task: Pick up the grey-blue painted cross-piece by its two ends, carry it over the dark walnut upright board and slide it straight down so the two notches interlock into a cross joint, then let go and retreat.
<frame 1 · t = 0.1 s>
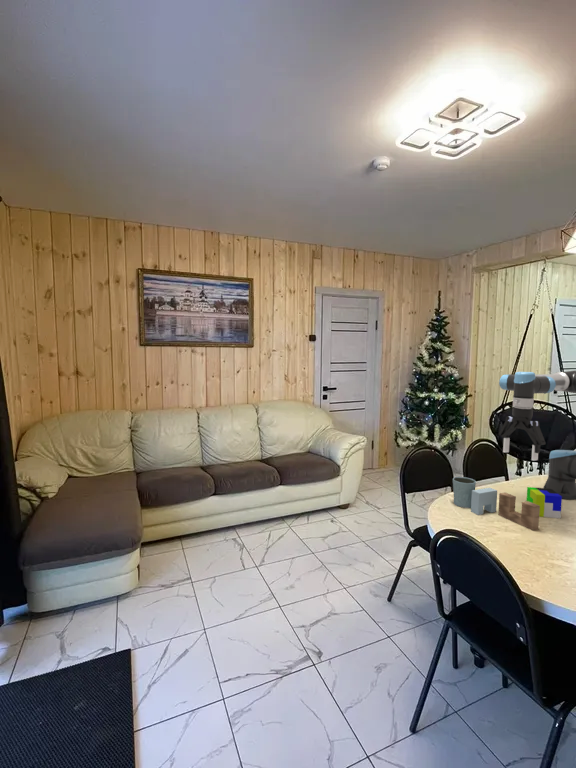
hand: (519, 456, 164), 28 cm above the table, fingers open, 13 cm apart
blue crosspiece: (483, 511, 173), on the table
puzzle toy: (542, 513, 173), on the table
walnut upright: (517, 521, 163), on the table
grey cup: (462, 504, 182), on the table
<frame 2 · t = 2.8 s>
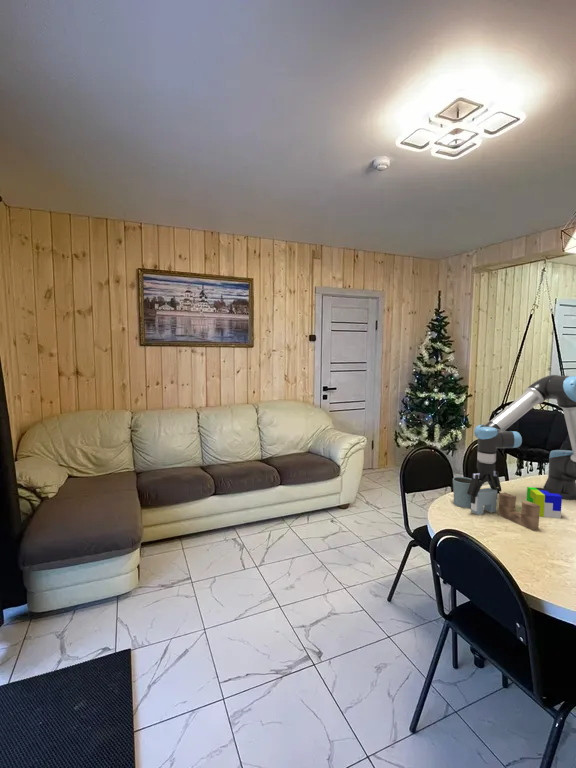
hand: (483, 508, 173), 2 cm above the table, fingers closed on blue crosspiece, 11 cm apart
blue crosspiece: (483, 511, 173), on the table, touching gripper
everything else where it was.
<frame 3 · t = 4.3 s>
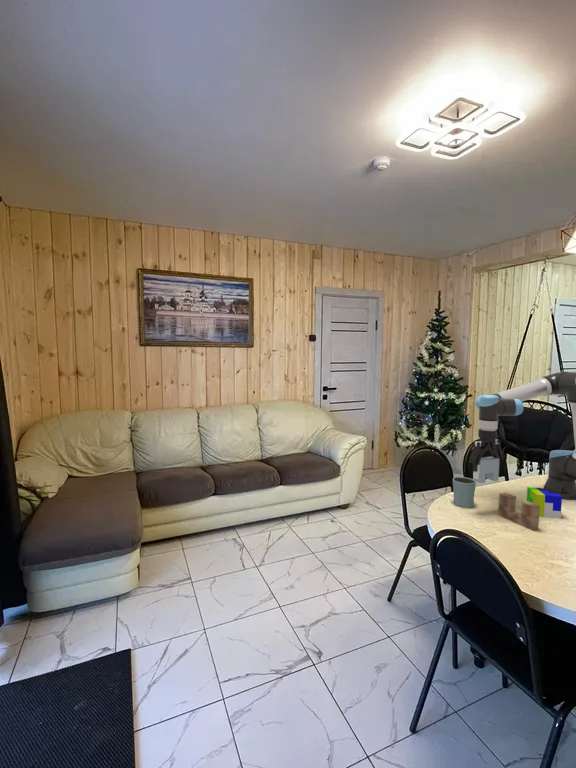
hand: (485, 476, 172), 16 cm above the table, fingers closed on blue crosspiece, 11 cm apart
blue crosspiece: (485, 480, 172), point 15 cm above the table, touching gripper
everything else where it was.
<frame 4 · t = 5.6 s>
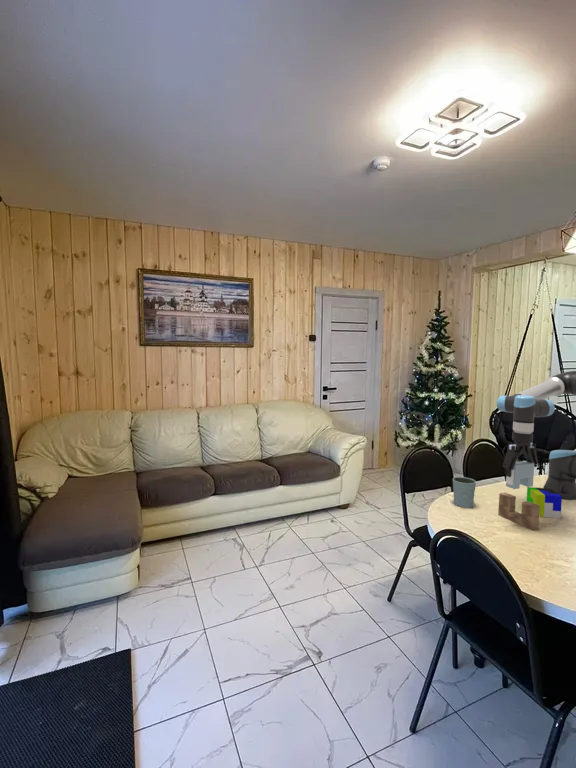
hand: (519, 482, 161), 17 cm above the table, fingers closed on blue crosspiece, 11 cm apart
blue crosspiece: (519, 486, 162), point 16 cm above the table, touching gripper
everything else where it was.
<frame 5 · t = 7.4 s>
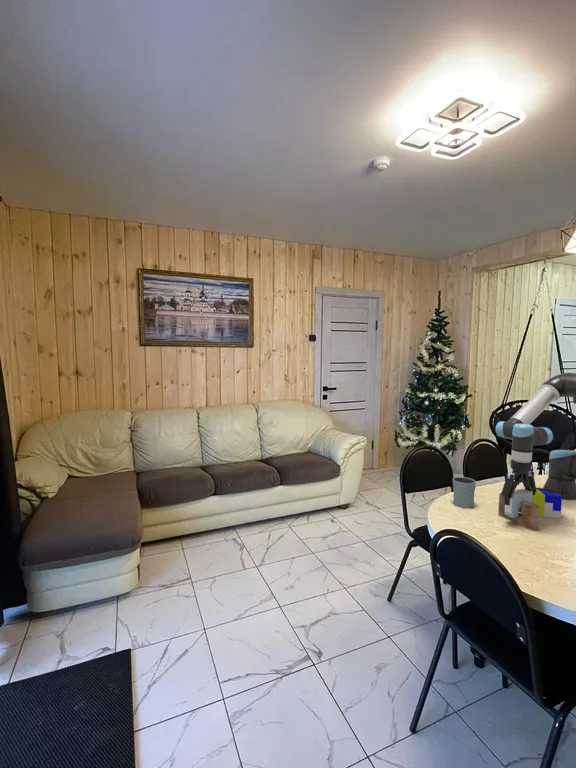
hand: (518, 510, 162), 5 cm above the table, fingers closed on blue crosspiece, 11 cm apart
blue crosspiece: (517, 514, 162), point 3 cm above the table, touching gripper
everything else where it was.
when the fingers open (2 cm above the table, at t = 8.5 s): blue crosspiece stays where it is, on the table.
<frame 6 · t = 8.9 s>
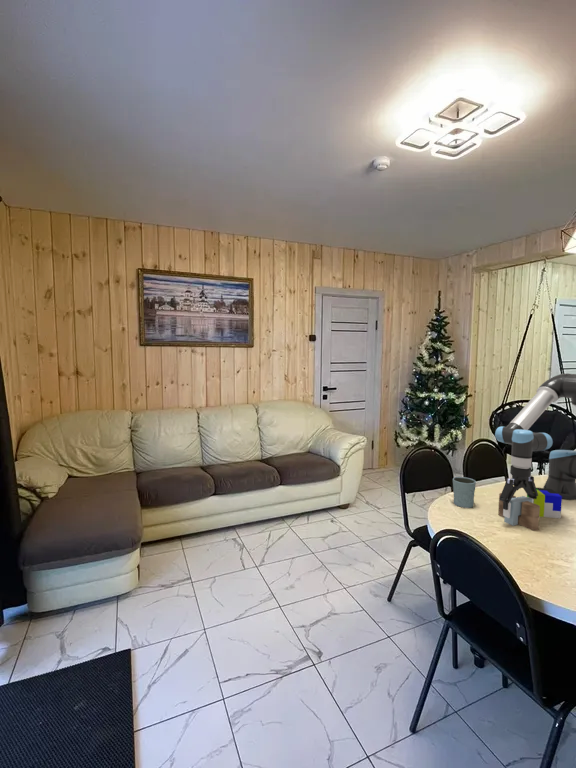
hand: (517, 514, 162), 3 cm above the table, fingers open, 13 cm apart
blue crosspiece: (517, 521, 163), on the table
everything else where it was.
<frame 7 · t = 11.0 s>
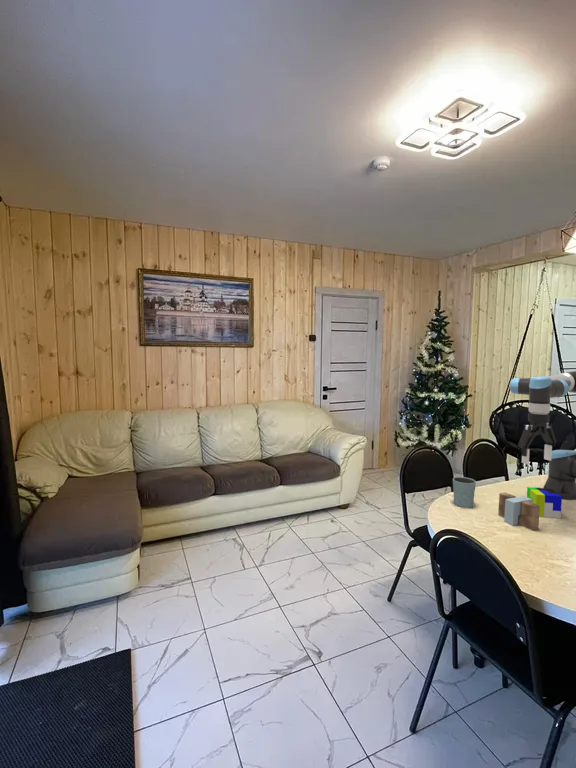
hand: (536, 461, 162), 26 cm above the table, fingers open, 13 cm apart
nothing on the table moved.
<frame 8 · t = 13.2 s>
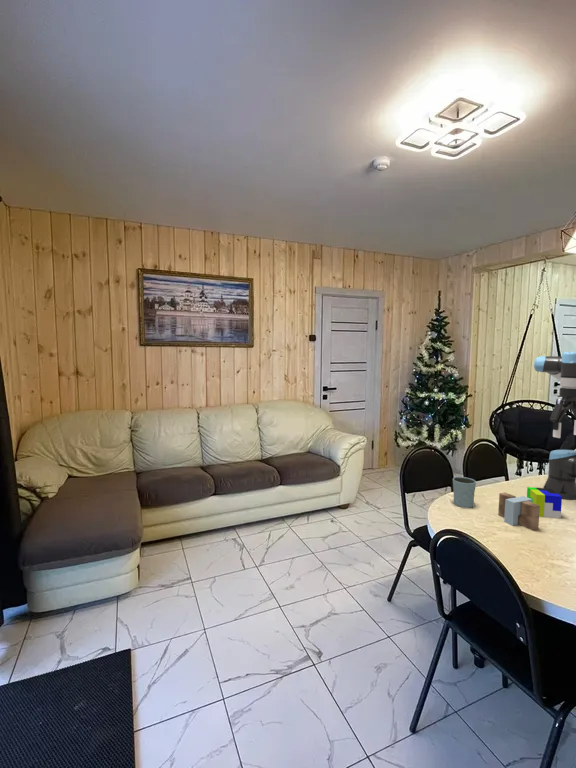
hand: (567, 436, 164), 37 cm above the table, fingers open, 13 cm apart
nothing on the table moved.
at the end: blue crosspiece 0.0 cm off-centre on the walnut upright, point 0.0 cm above the walnut upright's base; blue crosspiece tilted 0°; the gripper is holding nothing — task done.
